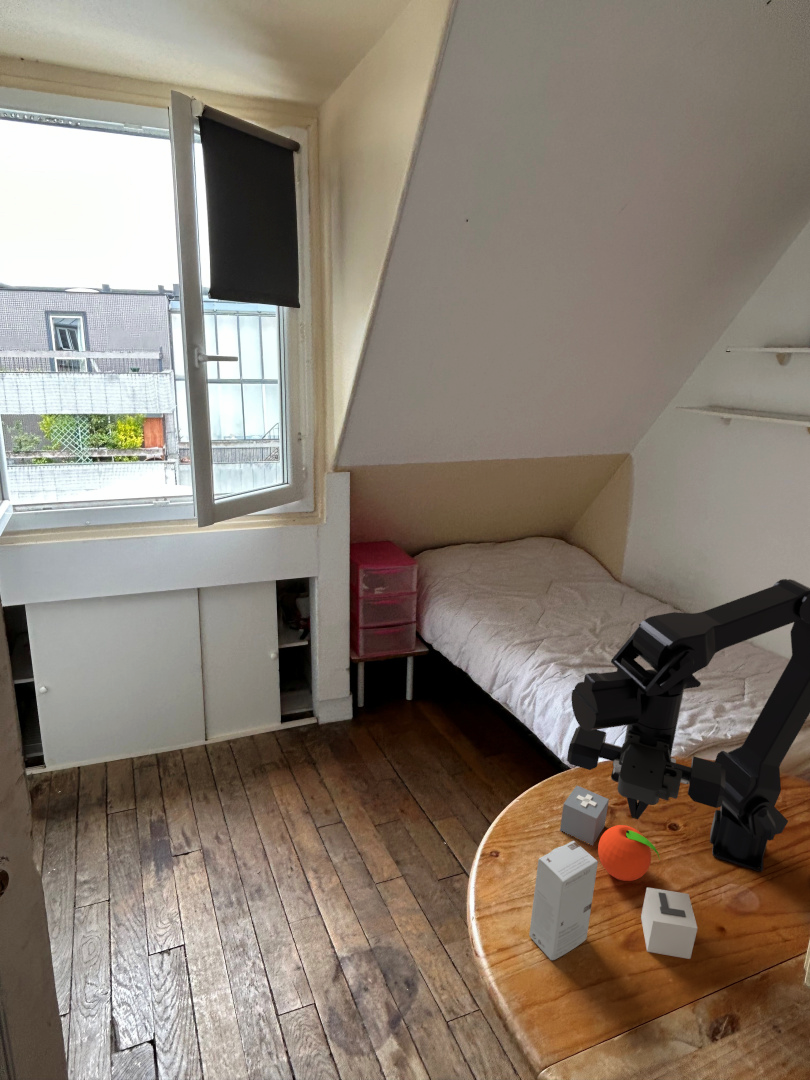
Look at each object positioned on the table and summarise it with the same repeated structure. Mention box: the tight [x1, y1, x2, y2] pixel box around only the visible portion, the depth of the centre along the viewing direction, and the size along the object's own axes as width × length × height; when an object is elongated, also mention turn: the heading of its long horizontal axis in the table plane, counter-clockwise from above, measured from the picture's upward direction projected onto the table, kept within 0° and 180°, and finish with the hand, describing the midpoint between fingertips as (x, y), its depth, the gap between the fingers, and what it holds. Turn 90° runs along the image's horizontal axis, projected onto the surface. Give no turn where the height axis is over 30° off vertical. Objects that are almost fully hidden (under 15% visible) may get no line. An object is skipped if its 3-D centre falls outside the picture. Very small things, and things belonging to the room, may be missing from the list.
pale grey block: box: [640, 887, 698, 960], centre depth 84 cm, size 5×5×5 cm
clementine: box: [597, 824, 661, 882], centre depth 93 cm, size 8×7×7 cm
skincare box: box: [529, 840, 599, 961], centre depth 82 cm, size 6×4×12 cm
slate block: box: [559, 785, 610, 847], centre depth 101 cm, size 5×5×5 cm
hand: (635, 816), depth 91 cm, fingers closed
